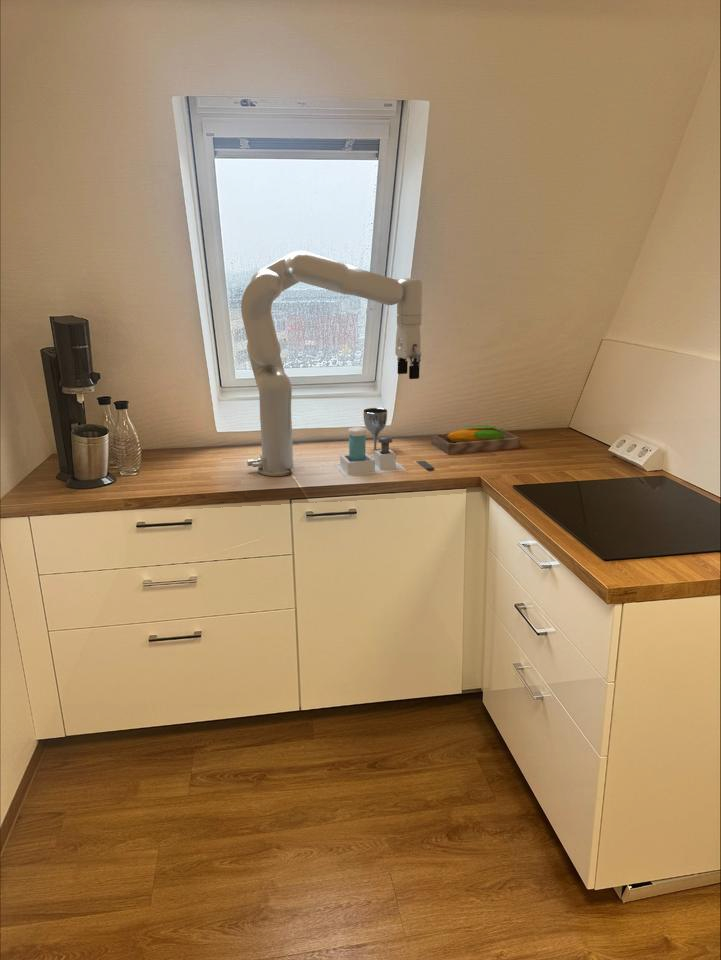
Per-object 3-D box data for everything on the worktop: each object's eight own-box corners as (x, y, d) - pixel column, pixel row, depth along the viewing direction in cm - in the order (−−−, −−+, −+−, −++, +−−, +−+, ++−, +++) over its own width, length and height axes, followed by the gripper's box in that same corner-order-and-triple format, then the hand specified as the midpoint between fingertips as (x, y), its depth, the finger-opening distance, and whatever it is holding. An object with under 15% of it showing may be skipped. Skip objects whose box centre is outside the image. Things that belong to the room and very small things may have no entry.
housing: (343, 481, 200) (343, 461, 198) (333, 469, 211) (333, 451, 209) (406, 474, 205) (406, 456, 203) (393, 463, 216) (393, 446, 214)
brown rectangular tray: (447, 454, 226) (448, 444, 225) (431, 443, 240) (431, 434, 238) (519, 447, 234) (520, 438, 233) (500, 437, 247) (500, 428, 246)
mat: (410, 472, 208) (410, 469, 208) (401, 465, 215) (401, 462, 215) (434, 470, 210) (434, 467, 210) (424, 462, 217) (424, 460, 217)
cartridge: (351, 472, 203) (351, 432, 199) (346, 466, 208) (346, 427, 204) (368, 470, 205) (368, 430, 201) (363, 465, 210) (363, 426, 206)
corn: (506, 427, 230) (448, 426, 232) (505, 449, 232) (447, 448, 233) (503, 424, 238) (446, 423, 239) (502, 445, 239) (446, 444, 241)
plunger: (380, 457, 205) (380, 440, 203) (376, 454, 209) (376, 436, 207) (394, 456, 206) (394, 438, 205) (389, 452, 210) (389, 435, 209)
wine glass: (377, 458, 222) (378, 414, 217) (358, 454, 227) (358, 411, 222) (391, 453, 228) (391, 409, 223) (372, 449, 233) (372, 406, 228)
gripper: (387, 318, 211) (387, 372, 217) (408, 323, 196) (407, 381, 201) (409, 317, 213) (408, 371, 219) (431, 322, 198) (430, 380, 203)
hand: (408, 376), depth 210 cm, fingers open, 9 cm apart
